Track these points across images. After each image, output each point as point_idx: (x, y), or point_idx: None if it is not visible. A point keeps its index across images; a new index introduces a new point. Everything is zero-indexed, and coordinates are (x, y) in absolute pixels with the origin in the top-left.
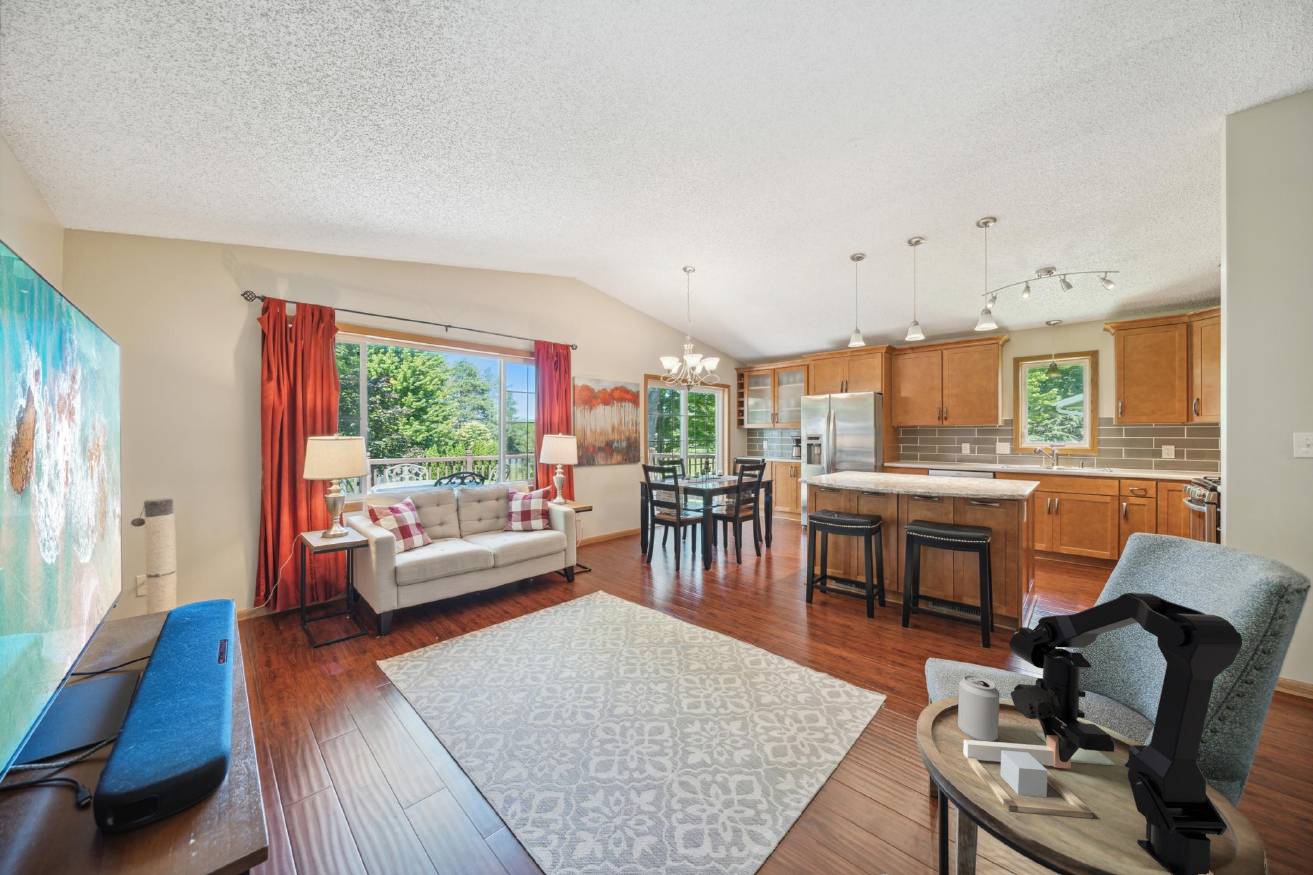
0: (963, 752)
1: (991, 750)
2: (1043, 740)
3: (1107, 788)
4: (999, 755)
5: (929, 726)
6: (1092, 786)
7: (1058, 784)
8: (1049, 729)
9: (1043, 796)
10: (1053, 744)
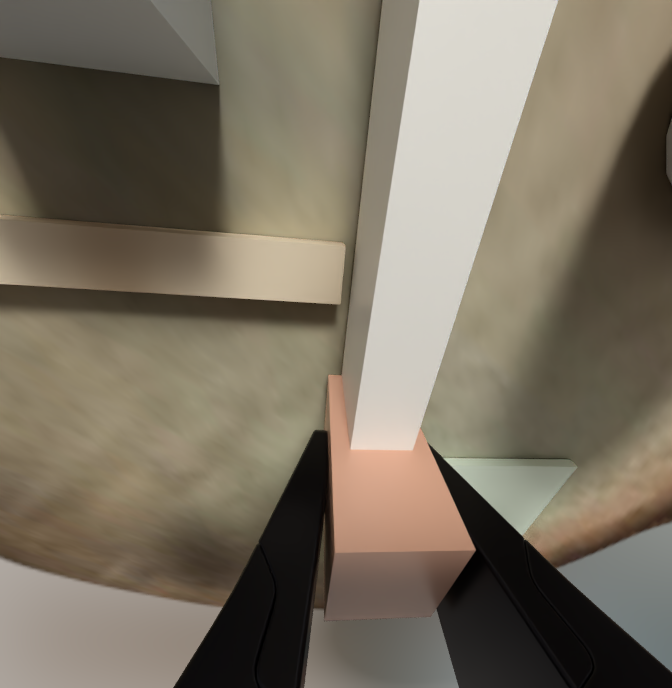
0: None
1: None
2: (528, 460)
3: (232, 478)
4: None
5: None
6: (230, 441)
7: (102, 255)
8: (516, 648)
9: None
10: (362, 504)
